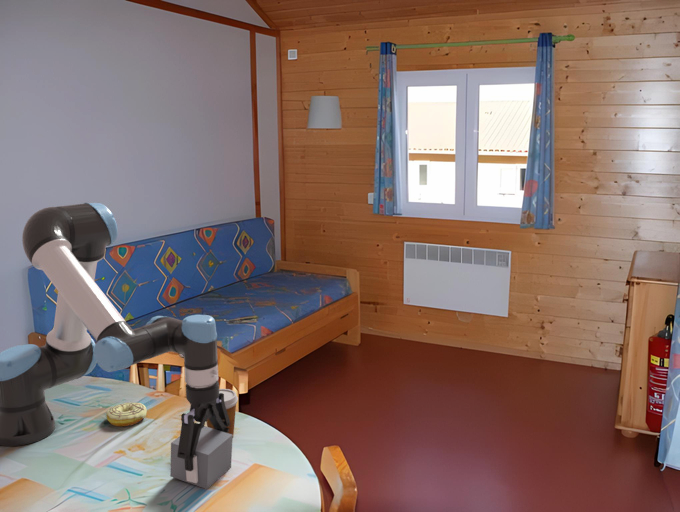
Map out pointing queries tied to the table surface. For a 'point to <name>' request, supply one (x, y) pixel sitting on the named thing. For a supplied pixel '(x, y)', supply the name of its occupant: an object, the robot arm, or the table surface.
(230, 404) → the disposable coffee cup
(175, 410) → the table surface
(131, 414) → the decorated donut
